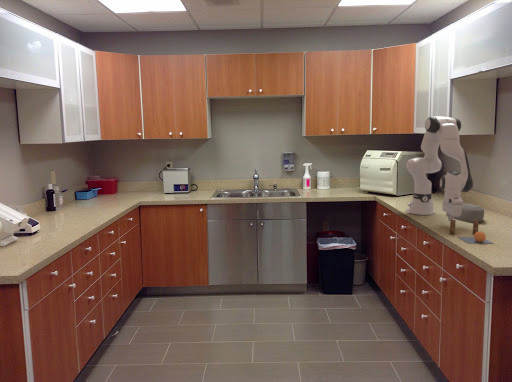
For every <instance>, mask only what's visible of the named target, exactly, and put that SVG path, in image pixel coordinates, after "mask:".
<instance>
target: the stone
mask: <svg viewBox="0 0 512 382" xmlns="http://www.w3.org/2000/svg"><path fill="white" fill-rule="evenodd" d="M445 213H446V215H447V216H448V213H447V212H445ZM484 217H485V209H484V208H483V207H482V206H480V205H477V204H474V203H463V204H462V213H461V216H460V217H454V218H453V219H454V220H459V219H460V220H459V221H462V222H467V223H473V221H474V220H479V223H481V222H482V221H483V220H484Z"/></svg>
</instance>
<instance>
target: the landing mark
mask: <svg viewBox="0 0 512 382" xmlns="http://www.w3.org/2000/svg"><path fill="white" fill-rule="evenodd" d="M457 238H458V239H459V238H460V240H461V241H463V242H464V243H467V244H477V245H479V244H482V245H484V244H487V245H488V244H489V245H490V244H491V245H492V244H494V242H492V241H490V240H488V239H487V238H486V239H485V240H484V241H483V242H477V241H476V240H475V239H474V236H457Z"/></svg>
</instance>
